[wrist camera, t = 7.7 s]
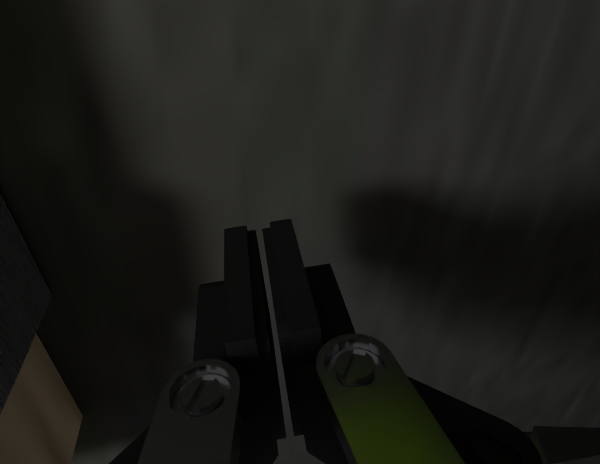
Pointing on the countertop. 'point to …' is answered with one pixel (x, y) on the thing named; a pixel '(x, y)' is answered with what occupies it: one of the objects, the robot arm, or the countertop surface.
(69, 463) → the block
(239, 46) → the countertop surface
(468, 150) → the countertop surface
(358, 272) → the countertop surface
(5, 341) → the lynch pin
